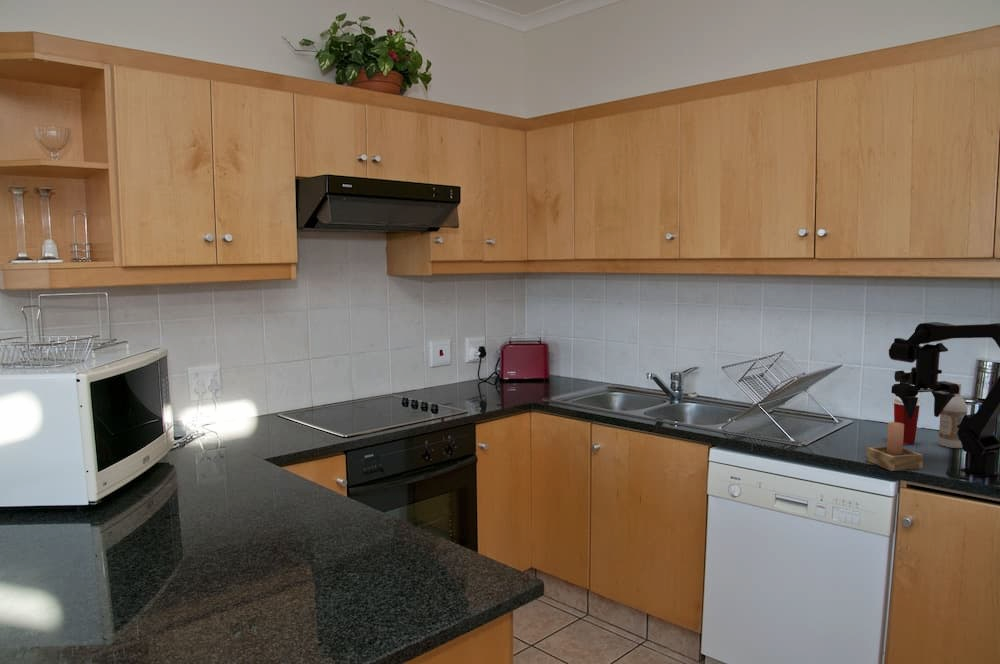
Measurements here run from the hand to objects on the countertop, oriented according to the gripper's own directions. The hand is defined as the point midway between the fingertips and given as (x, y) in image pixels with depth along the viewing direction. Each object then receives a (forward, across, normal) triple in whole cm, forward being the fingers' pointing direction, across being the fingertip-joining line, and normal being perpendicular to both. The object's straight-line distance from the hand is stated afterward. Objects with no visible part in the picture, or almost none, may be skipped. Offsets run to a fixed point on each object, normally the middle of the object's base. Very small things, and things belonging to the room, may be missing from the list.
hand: (923, 417), depth 207 cm
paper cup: (+13, -9, -16) cm, 22 cm away
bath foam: (+12, -20, -8) cm, 25 cm away
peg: (+12, +13, +4) cm, 18 cm away
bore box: (+12, +13, +4) cm, 18 cm away
